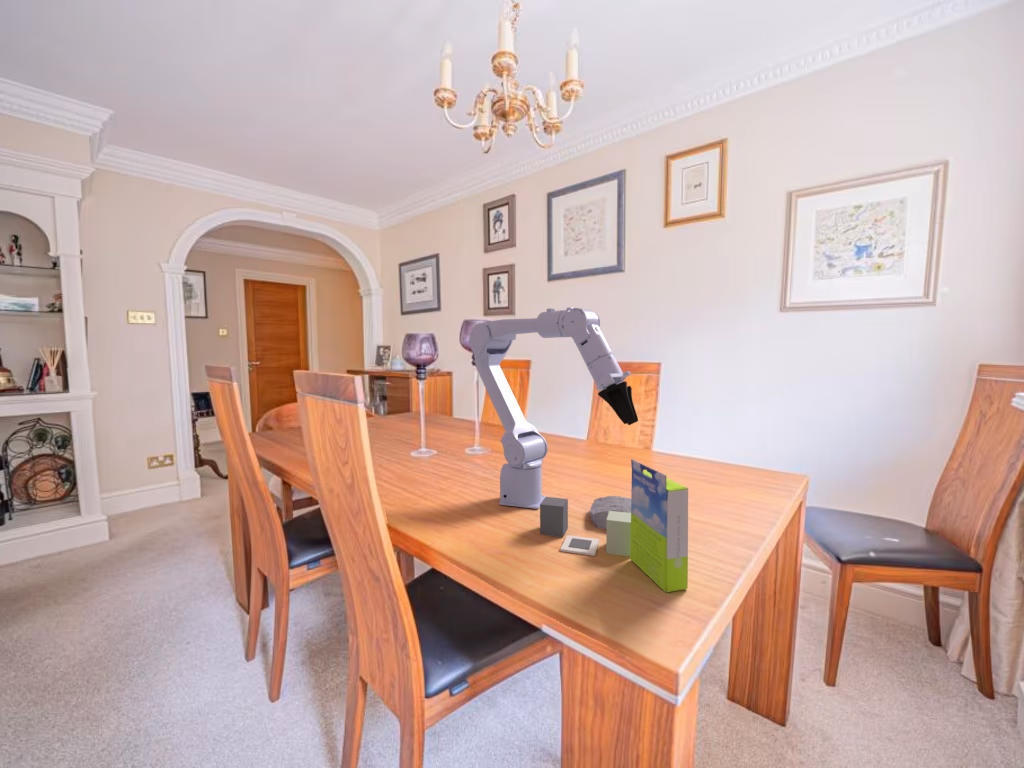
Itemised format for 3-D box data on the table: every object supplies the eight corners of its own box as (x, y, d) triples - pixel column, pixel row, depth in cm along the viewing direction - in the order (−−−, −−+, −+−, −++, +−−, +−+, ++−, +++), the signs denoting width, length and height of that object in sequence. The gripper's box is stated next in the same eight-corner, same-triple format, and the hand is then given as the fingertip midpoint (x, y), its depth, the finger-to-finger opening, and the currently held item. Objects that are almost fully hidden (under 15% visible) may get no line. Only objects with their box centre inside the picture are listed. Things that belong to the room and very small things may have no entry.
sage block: (606, 553, 73) (606, 519, 73) (609, 542, 78) (609, 510, 77) (633, 557, 72) (633, 522, 72) (634, 545, 76) (634, 513, 76)
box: (689, 590, 62) (691, 473, 60) (664, 594, 61) (665, 476, 60) (649, 557, 72) (650, 456, 71) (627, 559, 71) (628, 458, 70)
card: (560, 551, 74) (560, 548, 74) (567, 537, 80) (567, 534, 80) (594, 556, 72) (594, 553, 72) (599, 541, 78) (599, 538, 78)
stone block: (592, 538, 84) (644, 531, 82) (587, 514, 84) (639, 507, 82) (593, 517, 96) (638, 512, 94) (589, 497, 96) (634, 490, 94)
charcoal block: (540, 534, 81) (539, 504, 81) (546, 525, 86) (545, 496, 85) (563, 537, 80) (563, 506, 80) (567, 528, 84) (567, 498, 84)
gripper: (613, 344, 77) (649, 411, 73) (622, 358, 90) (652, 415, 87) (579, 362, 79) (612, 428, 75) (593, 373, 92) (621, 429, 89)
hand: (631, 422), depth 81 cm, fingers open, 7 cm apart
